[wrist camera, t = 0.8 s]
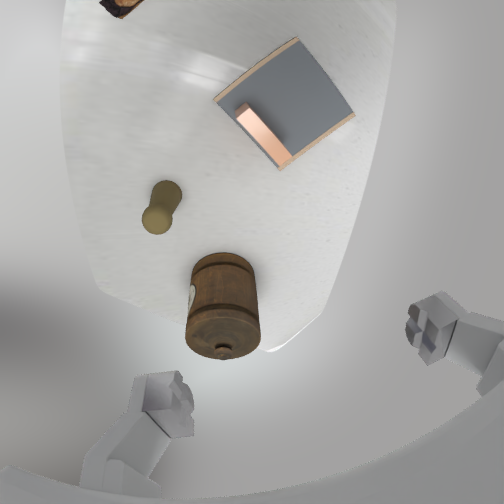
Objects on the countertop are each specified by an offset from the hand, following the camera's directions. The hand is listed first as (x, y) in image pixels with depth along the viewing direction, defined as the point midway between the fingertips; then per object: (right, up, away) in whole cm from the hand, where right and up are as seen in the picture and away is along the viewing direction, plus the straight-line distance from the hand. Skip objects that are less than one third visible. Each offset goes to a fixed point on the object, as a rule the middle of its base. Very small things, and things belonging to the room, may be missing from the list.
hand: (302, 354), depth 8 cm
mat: (+5, +29, +34) cm, 45 cm away
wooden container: (-8, -2, +57) cm, 58 cm away
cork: (-18, +14, +43) cm, 49 cm away
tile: (0, +25, +36) cm, 43 cm away
